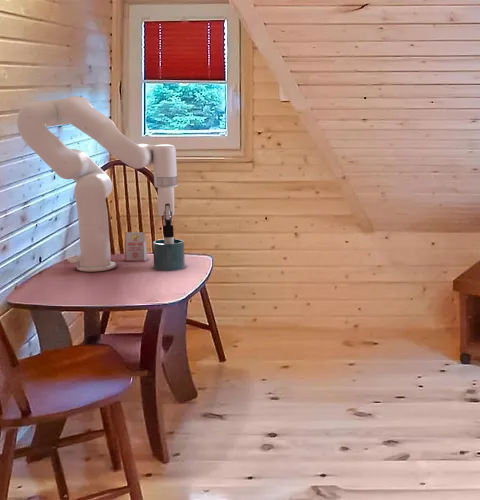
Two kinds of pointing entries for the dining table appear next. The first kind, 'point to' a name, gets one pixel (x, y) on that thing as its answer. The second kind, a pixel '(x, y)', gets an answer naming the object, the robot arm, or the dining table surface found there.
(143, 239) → the white printed carton
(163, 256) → the mug
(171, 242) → the glue stick
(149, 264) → the dining table surface
